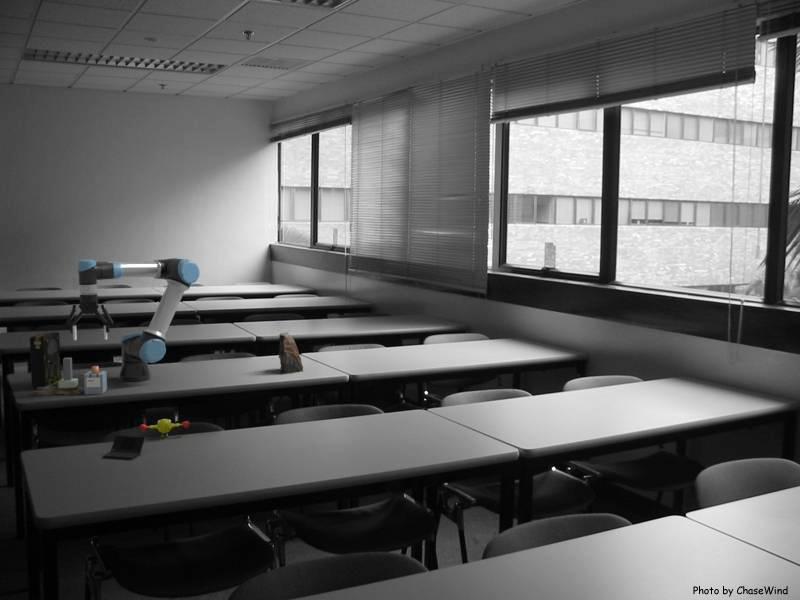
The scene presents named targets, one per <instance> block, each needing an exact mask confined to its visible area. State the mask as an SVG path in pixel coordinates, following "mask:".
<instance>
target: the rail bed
mask: <svg viewBox="0 0 800 600" xmlns="http://www.w3.org/2000/svg"><path fill="white" fill-rule="evenodd" d="M79 392H80V393H81V392H83V387H80V386H78V385H77V386H76V387H75V388H58V386H52V387H37V389H36V390H34V391H33V395H34V396H48V395H49V394H65V395H79V394H80V393H79ZM78 393H79V394H78Z"/></svg>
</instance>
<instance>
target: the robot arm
mask: <svg viewBox="0 0 800 600" xmlns="http://www.w3.org/2000/svg"><path fill="white" fill-rule="evenodd" d="M77 265H78V266H77V272H78V273H77V274H78V288H79V289H78V290H79V304H76V303H75V304H72V307H71V308H72V310H71V312H70V314H69V316H68V318H67V319H66V322H65V325H66V326H69V327H70V333H71V334H72V337H73V339H72V340H73V341H77V340H78V339H77V338H78V337H77V336H78V335H77V325H76V323H77V322H78V321H79V320H80V319H81V318H82V316H83V315H95V316H96V317H97V318H98V319H99V320H100V321H101V322H102V323H103V324H104V325H103V337H104V338H103V339H104V341H107V340H108V333H110V325H112V324H114V320H113V319H112V317H111V315H110V313H109V311H108V310H107V309H106V308H107V307H106V304H105V303H102V304H99V303H98V294H97V293H98V284H97V283H98V281H103V280H115V279H121V278H153V279H155V280H166V283H167V286H166V287H165V290H164V292H163V295H162V297H161V299H160V301H159V302H158V303H159V304H158V306H157V308H156V310H155V311H154V315H153V317H152V319H151V321H150V323H149V325H148V328H146V329H144V330H143V331H141V332H140V331H139V332H130V333H124V334H122V335H121V341H120V343H121V360H122V361H121V367H120V371H119V373H118V380H119V381H121V382H129V383H131V382H133V383H134V382H141V381H143V382H144V381H147V380H150V379H152V372H151V370H150V368H149V365H148V363H152V364H155V363H157V362H159V361H161V360H162V359H163V358H164V356H165V354H166V351H167V348H166V341H167V338H166V334H167V332H168V329H169V327H170V324H171V322H172V320H173V318H174V316H175V314H176V311H177V309H178V307H179V304H180V302H181V301H182V298H183V296H184V294H185V293H184V292H186V291H188V290H190V287H191V285H192V284H195V282H197V281H198V279H199V278H200V275H201V274H200V268H199V265H198V264H197V263H196V262H195V261H194V260H191V259H187V258H165V259H154V260H152V261H96V259H80V260H79V261H78V264H77ZM78 309H80V312H79V313H78V314H77V316H76V317H75V318H74V316H75V315H76V314H75V313H76V312H77V310H78ZM98 309H100V310H101V311H102V313H103V315H104V316H105V317H104V316H103V315H102V314H101V312H100V311H99V310H98ZM73 318H74V319H73Z"/></svg>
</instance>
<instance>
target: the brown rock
mask: <svg viewBox="0 0 800 600" xmlns="http://www.w3.org/2000/svg"><path fill="white" fill-rule="evenodd" d="M278 336H279V339H278V341H279V346H278V352H279V353H278V358H279V360H280V361H279V362H280V373H281V374H284V375H287V374H294V373H300V372H302V373H303V372H304V366H303V362H302V358H301V355H300V353H299V349H298V346H297V344H296V342H295V339H294V338H293V336H291V335H290V333H288V331H286V332H281V333H280V334H279V335H278Z"/></svg>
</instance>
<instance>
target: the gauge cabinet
mask: <svg viewBox="0 0 800 600" xmlns="http://www.w3.org/2000/svg"><path fill="white" fill-rule="evenodd" d="M107 373H108V372H107V370H101V372H100V370H99V374H98V378H97V374H92V370H91V371H90V370H89V371H87V372H86V373H85V374H83V383H84V386H83V387H84V395H104V394H105V393H106V392H107V391H108V380H107V379H108V378H107V377H108V376H107ZM106 390H107V391H106ZM105 391H106V392H105ZM104 392H105V393H104ZM103 393H104V394H103Z"/></svg>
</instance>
